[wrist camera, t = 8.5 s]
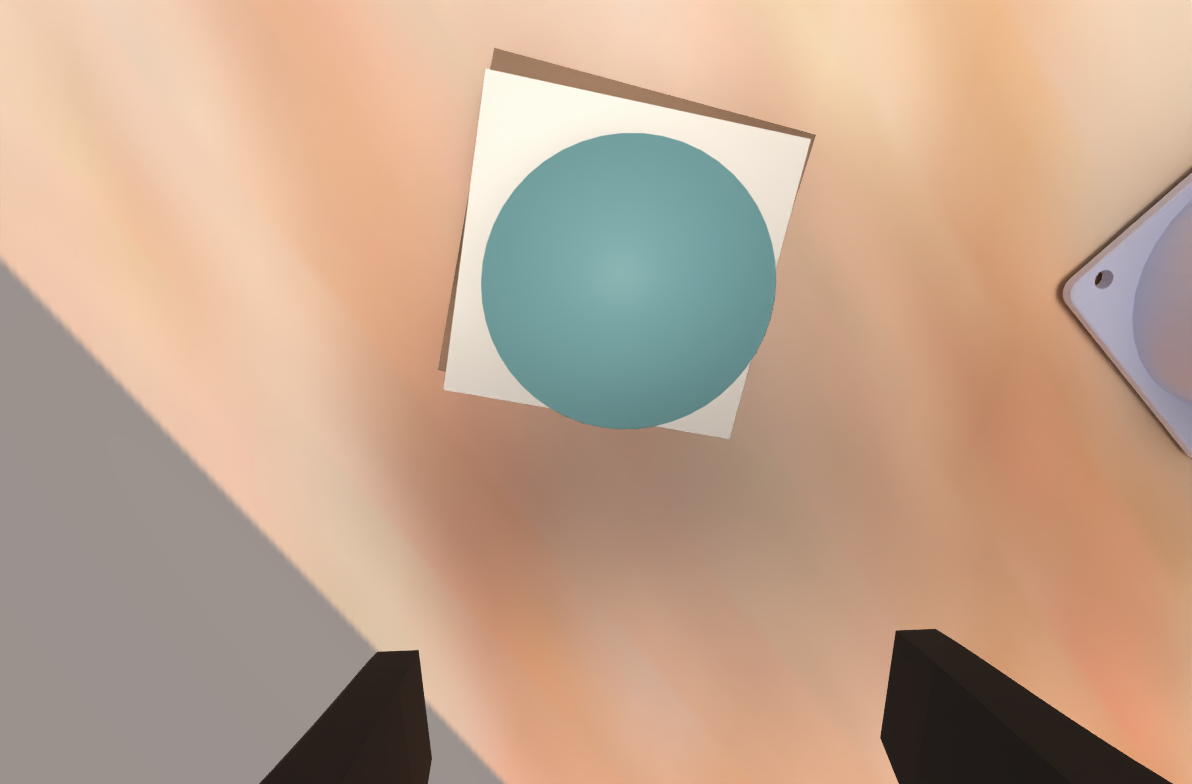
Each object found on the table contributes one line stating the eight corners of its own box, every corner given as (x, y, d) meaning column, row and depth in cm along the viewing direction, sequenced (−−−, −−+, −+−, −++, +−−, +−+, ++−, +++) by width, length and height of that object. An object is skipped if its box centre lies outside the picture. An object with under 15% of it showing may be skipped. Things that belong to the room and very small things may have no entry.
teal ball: (601, 100, 13) (618, 59, 9) (754, 248, 14) (836, 276, 10) (464, 268, 14) (420, 306, 10) (618, 396, 15) (639, 480, 11)
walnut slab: (504, 65, 17) (494, 48, 15) (787, 141, 18) (815, 134, 16) (452, 350, 19) (438, 370, 17) (706, 406, 20) (721, 431, 18)
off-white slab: (497, 85, 15) (485, 68, 13) (779, 146, 16) (810, 138, 14) (459, 365, 17) (443, 389, 15) (711, 410, 18) (729, 439, 16)
